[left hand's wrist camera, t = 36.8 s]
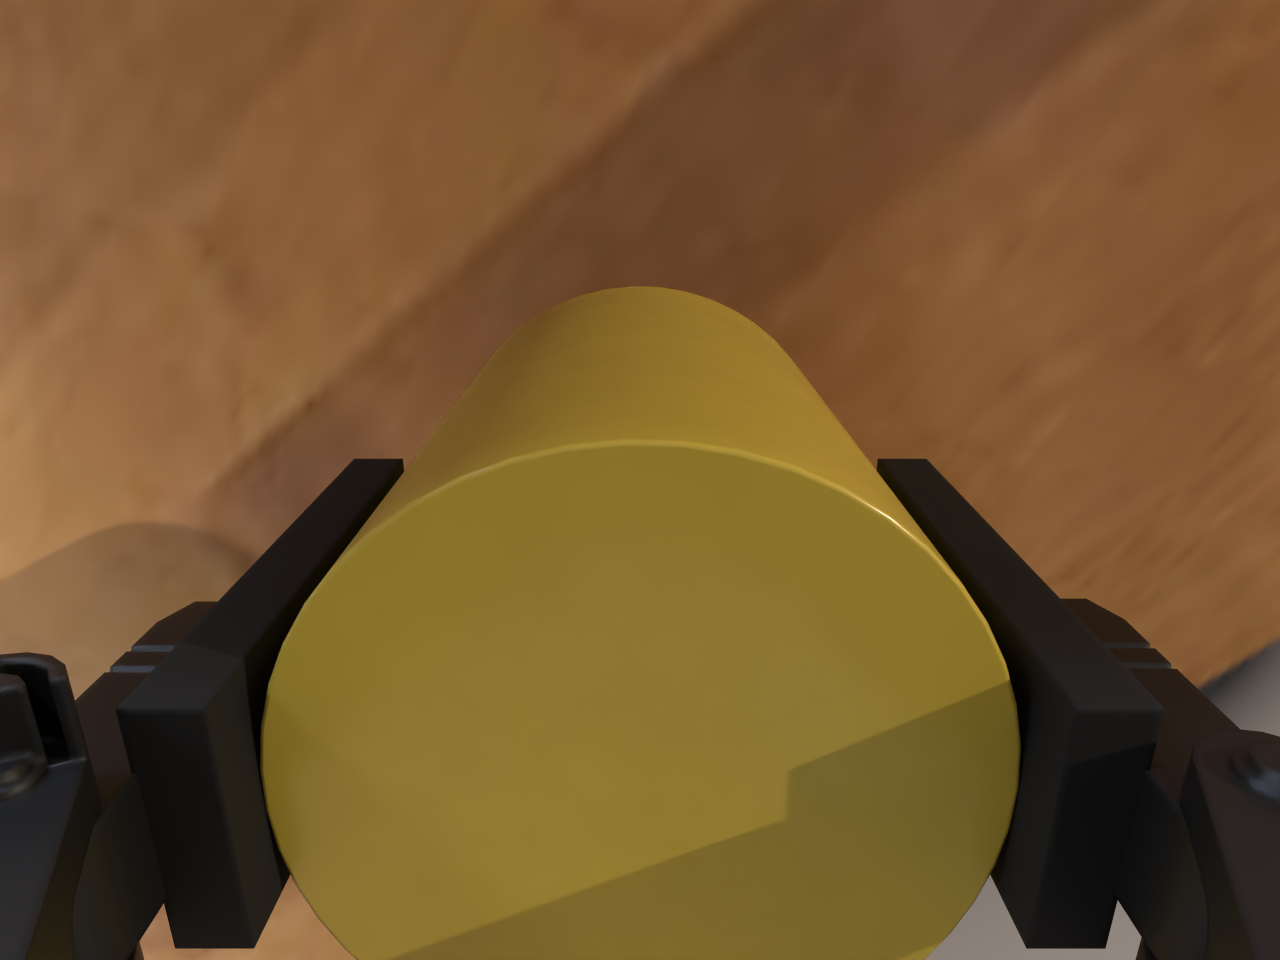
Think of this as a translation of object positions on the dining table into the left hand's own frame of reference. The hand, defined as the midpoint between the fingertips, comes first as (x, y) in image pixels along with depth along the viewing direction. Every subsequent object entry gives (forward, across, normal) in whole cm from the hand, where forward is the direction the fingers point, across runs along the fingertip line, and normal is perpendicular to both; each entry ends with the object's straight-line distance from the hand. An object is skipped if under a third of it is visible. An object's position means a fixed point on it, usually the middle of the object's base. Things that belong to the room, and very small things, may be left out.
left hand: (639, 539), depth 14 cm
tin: (+4, 0, 0) cm, 4 cm away
